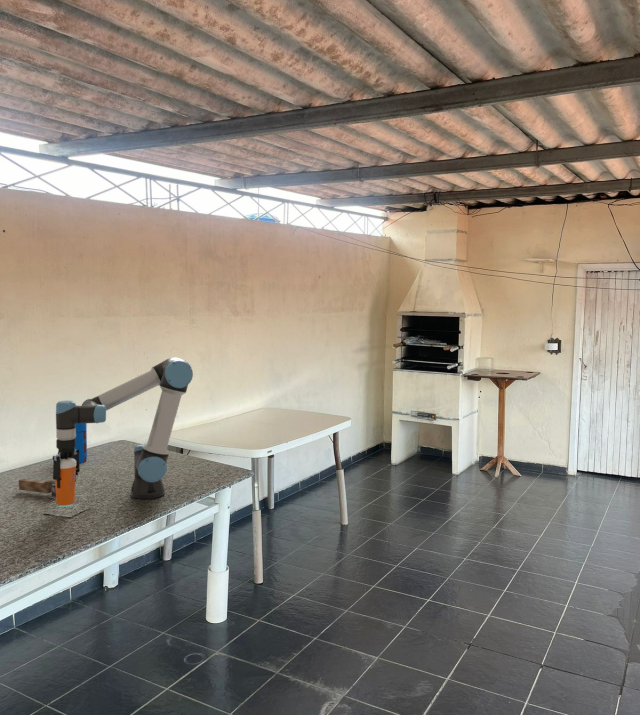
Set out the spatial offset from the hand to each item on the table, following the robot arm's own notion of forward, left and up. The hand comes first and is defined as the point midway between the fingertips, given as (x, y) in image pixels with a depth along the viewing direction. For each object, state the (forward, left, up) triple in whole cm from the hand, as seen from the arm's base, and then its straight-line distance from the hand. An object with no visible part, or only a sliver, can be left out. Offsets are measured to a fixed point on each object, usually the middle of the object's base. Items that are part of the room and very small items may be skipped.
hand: (66, 492), depth 265 cm
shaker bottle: (0, +1, -4) cm, 4 cm away
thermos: (+49, -67, -8) cm, 83 cm away
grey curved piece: (+18, -14, -8) cm, 24 cm away
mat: (0, 0, -8) cm, 8 cm away
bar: (+26, -14, -6) cm, 30 cm away
